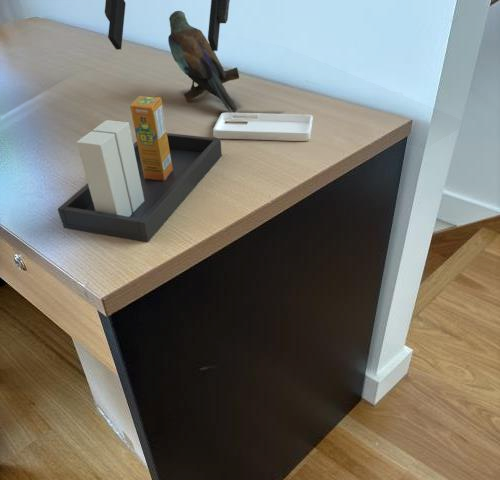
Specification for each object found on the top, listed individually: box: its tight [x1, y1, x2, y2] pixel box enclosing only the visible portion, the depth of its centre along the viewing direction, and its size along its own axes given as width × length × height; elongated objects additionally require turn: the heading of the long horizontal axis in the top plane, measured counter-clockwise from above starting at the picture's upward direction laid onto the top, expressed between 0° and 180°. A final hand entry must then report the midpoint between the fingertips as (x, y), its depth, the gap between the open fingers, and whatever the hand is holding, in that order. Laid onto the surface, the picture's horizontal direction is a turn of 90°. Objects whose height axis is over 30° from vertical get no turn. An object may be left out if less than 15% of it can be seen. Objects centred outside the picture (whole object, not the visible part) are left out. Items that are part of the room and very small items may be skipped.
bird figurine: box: [167, 10, 240, 113], centre depth 89 cm, size 13×10×20 cm
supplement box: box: [129, 95, 173, 181], centre depth 67 cm, size 3×3×10 cm
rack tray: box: [57, 132, 223, 243], centre depth 68 cm, size 12×24×3 cm, turn 161°
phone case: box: [212, 112, 314, 142], centre depth 81 cm, size 7×1×15 cm
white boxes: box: [76, 119, 144, 217], centre depth 60 cm, size 3×6×10 cm, turn 161°
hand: (163, 44), depth 68 cm, fingers open, 13 cm apart
